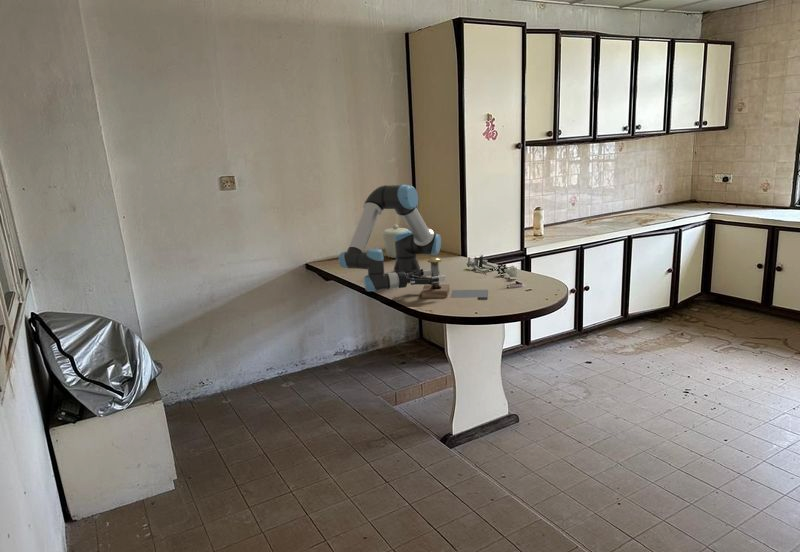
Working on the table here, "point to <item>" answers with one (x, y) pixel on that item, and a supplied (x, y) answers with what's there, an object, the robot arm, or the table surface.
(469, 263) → the bike brake
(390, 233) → the canister
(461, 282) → the table surface
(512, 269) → the valve
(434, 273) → the brass topped pillar
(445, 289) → the eye block
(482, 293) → the mat
